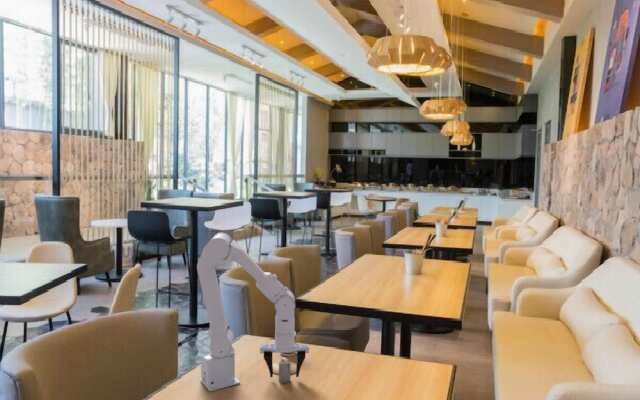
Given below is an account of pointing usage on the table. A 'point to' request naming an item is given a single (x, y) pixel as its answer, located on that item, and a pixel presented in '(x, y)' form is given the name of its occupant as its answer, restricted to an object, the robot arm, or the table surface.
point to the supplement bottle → (290, 352)
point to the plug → (284, 371)
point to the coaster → (292, 368)
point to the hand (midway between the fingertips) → (284, 375)
